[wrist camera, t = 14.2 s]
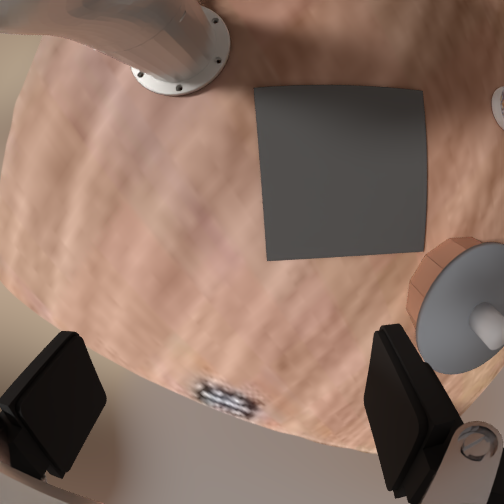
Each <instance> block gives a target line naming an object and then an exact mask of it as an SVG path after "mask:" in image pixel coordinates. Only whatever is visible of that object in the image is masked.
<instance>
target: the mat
mask: <svg viewBox="0 0 504 504" xmlns="http://www.w3.org/2000/svg"><path fill="white" fill-rule="evenodd" d="M254 98H255V109H256V121H257V133H258V146H259V158H260V171H261V184H262V197H263V211H264V225H265V239H266V253H267V261H276V260H294V259H311V258H328V257H344V256H360V255H376V254H392V253H407V252H422V251H423V250H424V238H425V223H426V201H427V148H426V127H425V112H424V101H423V91H419V90H410V89H400V88H388V87H374V86H352V85H296V86H274V87H259V88H254Z"/></svg>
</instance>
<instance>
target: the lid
mask: <svg viewBox="0 0 504 504" xmlns="http://www.w3.org/2000/svg"><path fill="white" fill-rule="evenodd" d="M416 342H417V347H418V350H419V352H420V354H421V356H422V357H423V359H424V361H425V362H427V363H429V364H430V366H431V367H432V369H433V370H435V371H437V372H439V373H443V374H459V373H464V372H467V371H470V370H472V369H475V368H477V367H479V366H480V365H482V364H484V363H485V362H487V361H488V360H489V359H491V358H492V357H493V356H494V355H495V354H497V353H498V352H499V351H500V350H501V349H502V348H503V346H504V244H501V243H497V242H486V243H481V244H478V245H475V246H473V247H471V248H469V249H467V250H465V251H463V252H462V253H460V254H459V255H458V256H456V257H455V258H454V259H453V260H452V261H451V262H450V263H449V264H448V265H447V266H446V267H445V268H444V269H443V270H442V271H441V272H440V274H439V275H438V276H437V277H436V279H435V280H434V282H433V283H432V285H431V286H430V288H429V290H428V292H427V294H426V296H425V298H424V300H423V302H422V305H421V308H420V311H419V314H418V318H417V323H416Z"/></svg>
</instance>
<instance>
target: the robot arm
mask: <svg viewBox="0 0 504 504" xmlns="http://www.w3.org/2000/svg"><path fill="white" fill-rule="evenodd" d="M215 22H218V23H216V24H214V23H215ZM0 33H5V34H19V35H20V34H21V35H51V36H58V37H63V38H66V39H70V40H73V41H76V42H78V43H81V44H83V45H86V46H88V47H90V48H93V49H94V50H97V51H99V52H101V53H103V54H105V55H108V56H110V57H112V58H114V59H116V60H118V61H120V62H122V63H124V64H126V65H129V66H130V67H131V70H132V73H133V75H134V76H135V78H136V80H137V81H138V82H139V83H140V84H141V85H142V86H143V87H145V88H147V89H148V90H150V91H152V92H154V93H157V94H161V95H165V96H179V95H185V94H189V93H192V92H195V91H197V90H199V89H201V88H203V87H204V86H206V85H207V84H209V83H210V82H211V81H212V80H213V79H214V78H216V77H217V76H218V75H219V73H220V72H221V70H222V69H223V68H224V66H225V64H226V62H227V60H228V57H229V53H230V44H231V40H230V35H229V31H228V29H227V26H226V25H225V23H224V21H223V20H222V18H221V17H220V16H219V15H218V14H217V13H215V12H214V11H212V10H211V9H209V8H206V7H204V6H201V5H200V4H199V2H198V1H197V0H0ZM217 61H221V63H219V64H218V63H217ZM143 74H144V76H143V77H142V75H143ZM181 87H182V88H183V89H182V90H181V91H180V90H179V89H180V88H181ZM106 399H107V398H106V394H105V391H104V389H103V387H102V385H101V382H100V380H99V378H98V376H97V373H96V371H95V368H94V366H93V364H92V361H91V359H90V356H89V354H88V351H87V348H86V346H85V343H84V340H83V338H82V337H80V336H79V334H78V333H77V332H71V331H61V332H60V333H59V334H58V335H57V336H56V337H55V338H54V339H53V340H52V341H51V342H50V343H49V344H48V345H47V346H46V348H44V349H43V351H42V352H41V353H40V354H39V355H38V356H37V357H36V358H35V359H34V360H33V361H32V362H31V363H30V365H29V366H28V367H27V368H26V369H25V370H24V371H23V372H22V373H21V375H20V376H19V377H18V378H17V379H16V380H15V381H14V382H13V384H12V385H11V386H10V387H9V388H8V389H7V390H6V392H5V393H4V394H3V395H2V396H1V398H0V408H1V409H2V411H1V412H0V504H105V503H102V502H98V501H95V500H92V499H89V498H85V497H83V496H80V495H77V494H74V493H71V492H68V491H66V490H63V489H60V488H57V487H55V486H52V485H50V484H48V483H47V480H46V476H45V472H46V470H47V471H48V472H49V473H50V474H51V475H54V476H56V477H59V478H61V479H63V477H64V475H65V473H66V472H68V471H69V470H70V469H71V467H72V465H73V463H74V461H75V459H76V457H77V455H78V453H79V452H80V450H81V448H82V446H83V444H84V442H85V440H86V438H87V437H88V435H89V433H90V431H91V429H92V428H93V426H94V424H95V422H96V420H97V418H98V417H99V415H100V413H101V411H102V409H103V408H104V406H105V404H106ZM364 406H365V409H366V413H367V416H368V420H369V423H370V427H371V430H372V434H373V437H374V441H375V445H376V448H377V452H378V456H379V460H380V464H381V467H382V471H383V475H384V479H385V483H386V487H387V489H388V491H392V490H393V492H394V496H395V498H400V497H404V496H407V500H408V503H410V504H504V448H503V439H502V436H501V434H500V433H499V431H498V430H497V429H496V428H495V427H493V426H492V425H490V424H488V423H486V422H480V421H473V422H468V423H466V424H464V423H463V421H462V420H461V418H460V416H459V414H458V412H457V410H456V409H455V407H454V405H453V403H452V401H451V400H450V398H449V396H448V394H447V393H446V391H445V389H444V387H443V386H442V384H441V382H440V381H439V379H438V377H437V375H436V374H435V372H434V370H433V369H432V367H431V366H430V364H429V363H427V362H423V360H422V358H421V357H420V355H419V353H418V352H417V350H416V348H415V347H414V345H413V344H412V342H411V340H410V339H409V337H408V335H407V334H406V332H405V331H404V329H403V327H402V326H401V325H400V324H391V325H383V326H381V327H380V330H379V331H375V333H374V337H373V344H372V351H371V358H370V364H369V371H368V377H367V382H366V388H365V393H364Z"/></svg>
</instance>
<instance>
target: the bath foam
mask: <svg viewBox="0 0 504 504" xmlns="http://www.w3.org/2000/svg"><path fill="white" fill-rule="evenodd" d="M492 111H493V115H494V117H495V119H496V121H497V123H498V124H499V126H500V127H501V128H502V129H503V130H504V87H500V88H498V89H497V90H496V91H495V92H494V94H493V97H492Z"/></svg>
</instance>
